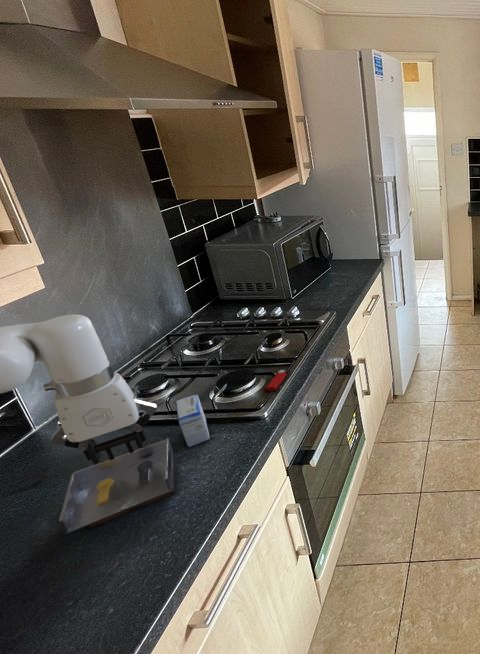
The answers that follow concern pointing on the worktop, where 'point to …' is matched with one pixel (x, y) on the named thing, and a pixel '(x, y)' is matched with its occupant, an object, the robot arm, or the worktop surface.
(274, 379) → the lighter
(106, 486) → the brass key
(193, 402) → the medicine box
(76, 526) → the steel dish
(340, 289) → the worktop surface
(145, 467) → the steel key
